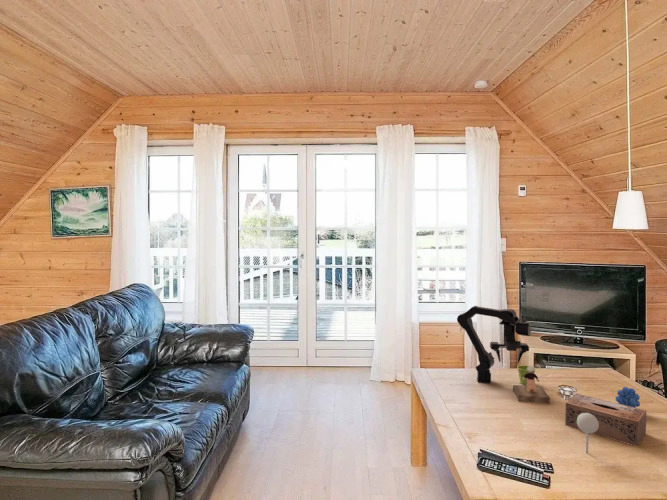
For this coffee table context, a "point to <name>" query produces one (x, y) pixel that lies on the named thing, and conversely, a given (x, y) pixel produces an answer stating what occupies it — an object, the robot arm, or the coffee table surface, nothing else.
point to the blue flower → (628, 397)
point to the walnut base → (531, 394)
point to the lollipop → (587, 425)
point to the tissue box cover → (609, 418)
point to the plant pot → (523, 373)
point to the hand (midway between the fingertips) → (508, 362)
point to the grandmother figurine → (530, 379)
